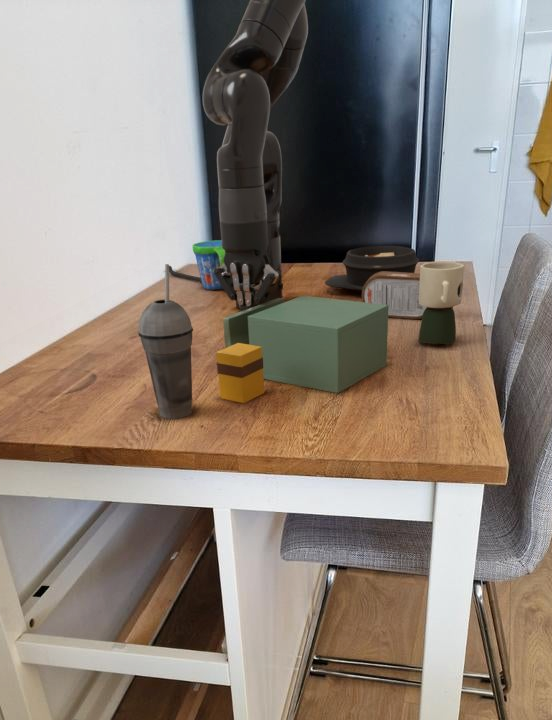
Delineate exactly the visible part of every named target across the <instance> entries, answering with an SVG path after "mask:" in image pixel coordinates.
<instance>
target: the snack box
mask: <svg viewBox="0 0 552 720" xmlns="http://www.w3.org/2000/svg"><path fill="white" fill-rule="evenodd" d="M215 354H216V370H217V371H216V372H217V374H218V384H219V385H218V387H219V393H220V394H219V397H220V399H221V400H227V401H232V402H235V403H240V404H246V403H247V402H249V401H252V400H254V399H255V398H257V397H259V396H261V395H263V394H265V385H264V384H265V381H264V380H265V379H264V378H263V357H262V347H260V346H254V345H248V344H242V343H237V344H234V345H232V346H229V347H227V348H222V349H220V350H218V351H216V353H215Z"/></svg>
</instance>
